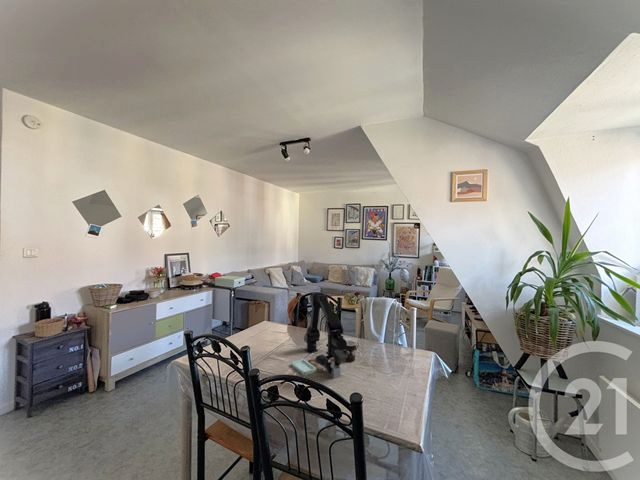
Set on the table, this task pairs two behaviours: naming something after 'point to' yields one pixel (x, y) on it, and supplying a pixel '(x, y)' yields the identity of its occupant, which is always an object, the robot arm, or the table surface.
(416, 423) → the table surface
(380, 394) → the table surface
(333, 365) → the grey rectangular block
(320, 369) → the socket
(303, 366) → the pale teal tray
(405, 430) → the table surface
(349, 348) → the coffee mug
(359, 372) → the table surface
